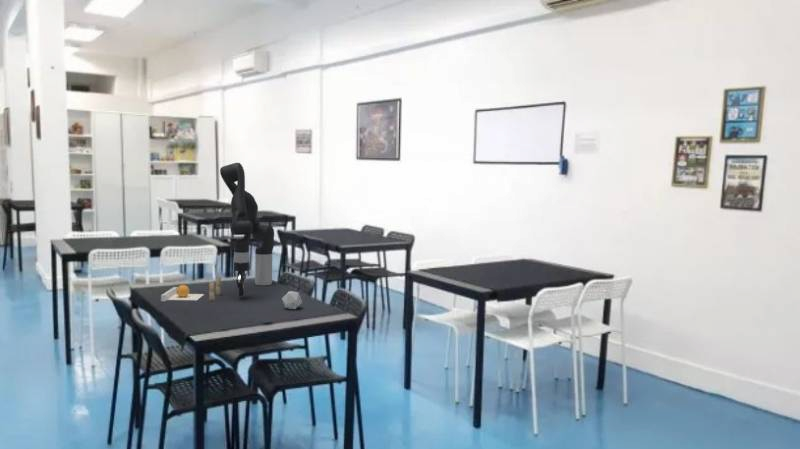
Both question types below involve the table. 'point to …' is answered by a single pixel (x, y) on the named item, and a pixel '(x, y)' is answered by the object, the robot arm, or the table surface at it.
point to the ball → (182, 291)
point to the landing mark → (188, 297)
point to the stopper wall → (169, 294)
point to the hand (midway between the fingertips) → (241, 295)
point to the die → (292, 300)
